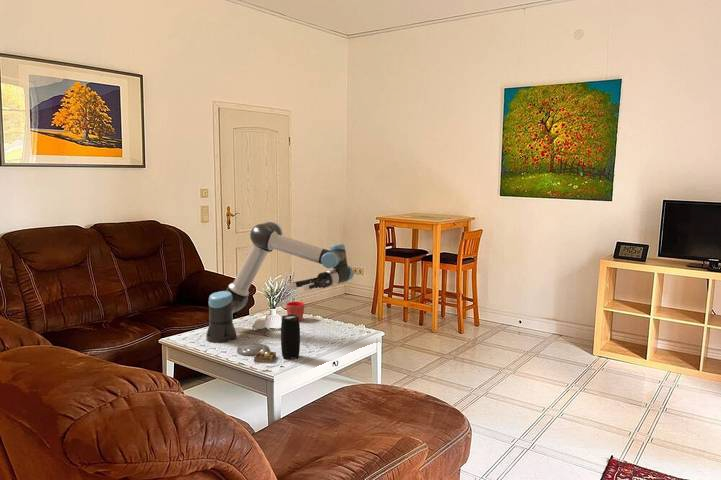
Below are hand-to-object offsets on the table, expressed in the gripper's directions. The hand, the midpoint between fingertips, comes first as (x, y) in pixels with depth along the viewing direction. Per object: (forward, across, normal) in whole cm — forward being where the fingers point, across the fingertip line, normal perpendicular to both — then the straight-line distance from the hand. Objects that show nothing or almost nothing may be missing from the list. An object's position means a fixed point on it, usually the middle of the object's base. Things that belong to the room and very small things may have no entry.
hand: (293, 288), depth 258 cm
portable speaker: (+8, 0, -31) cm, 32 cm away
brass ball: (+18, +4, -27) cm, 32 cm away
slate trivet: (+15, +20, -28) cm, 37 cm away
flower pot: (-35, +50, -28) cm, 68 cm away
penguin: (-12, +47, -26) cm, 56 cm away
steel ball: (+17, +8, -26) cm, 33 cm away
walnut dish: (+18, +6, -29) cm, 35 cm away
